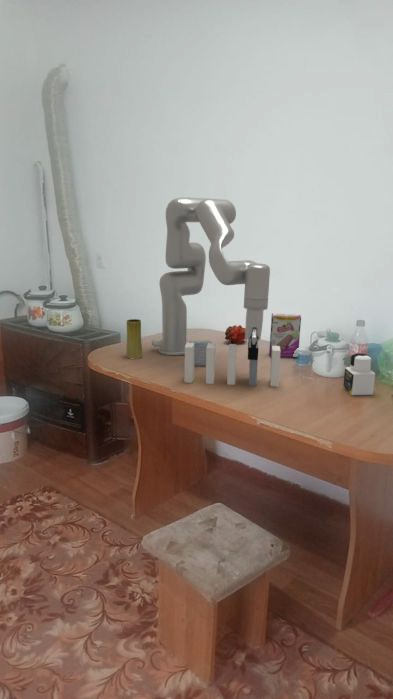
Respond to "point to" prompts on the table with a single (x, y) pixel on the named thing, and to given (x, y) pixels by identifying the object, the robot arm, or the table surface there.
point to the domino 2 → (210, 363)
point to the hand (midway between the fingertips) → (252, 355)
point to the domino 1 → (189, 362)
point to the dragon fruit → (235, 334)
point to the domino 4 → (253, 373)
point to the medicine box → (200, 352)
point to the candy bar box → (285, 333)
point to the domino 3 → (231, 364)
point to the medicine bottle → (359, 375)
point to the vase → (134, 338)
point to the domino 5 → (275, 366)
